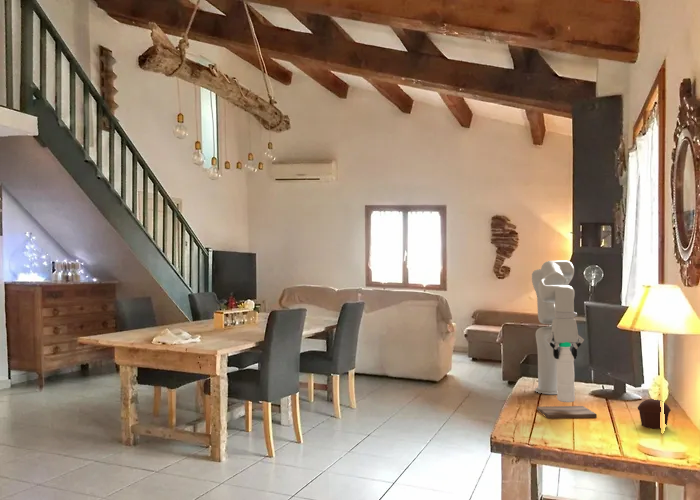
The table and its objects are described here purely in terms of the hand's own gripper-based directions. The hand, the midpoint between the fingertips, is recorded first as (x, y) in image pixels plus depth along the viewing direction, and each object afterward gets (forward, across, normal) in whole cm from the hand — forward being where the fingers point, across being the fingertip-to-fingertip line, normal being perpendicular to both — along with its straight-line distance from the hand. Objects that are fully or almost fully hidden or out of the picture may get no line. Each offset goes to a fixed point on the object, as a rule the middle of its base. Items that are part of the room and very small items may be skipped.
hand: (565, 358), depth 257 cm
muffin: (+24, -27, +20) cm, 41 cm away
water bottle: (+18, 0, 0) cm, 18 cm away
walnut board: (+23, 0, 0) cm, 23 cm away
